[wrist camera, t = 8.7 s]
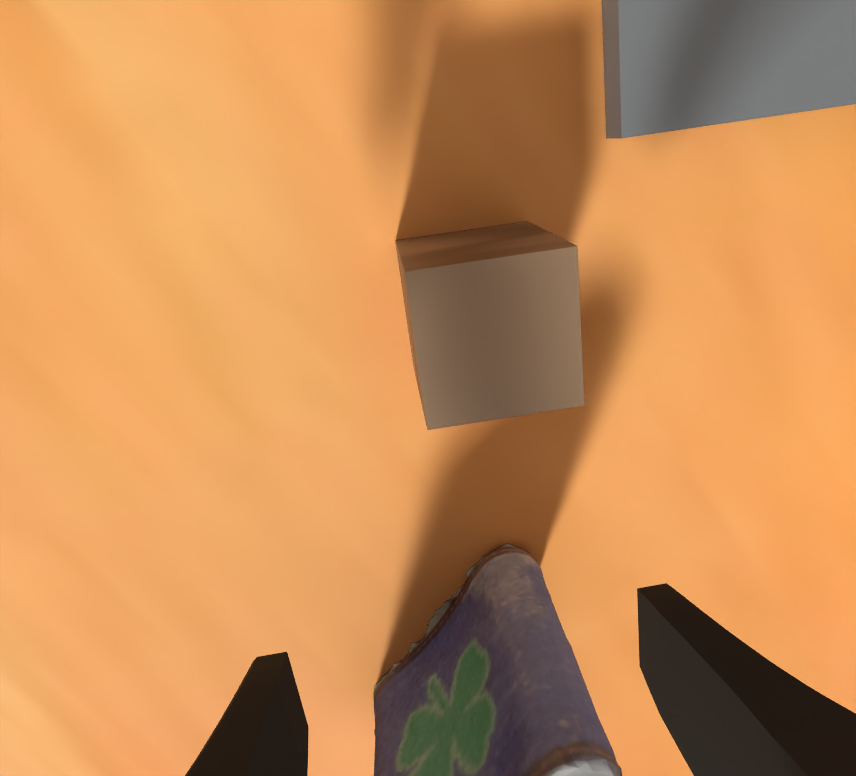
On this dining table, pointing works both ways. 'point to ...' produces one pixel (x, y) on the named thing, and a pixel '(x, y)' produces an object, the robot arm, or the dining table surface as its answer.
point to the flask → (491, 687)
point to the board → (723, 61)
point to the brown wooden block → (493, 322)
